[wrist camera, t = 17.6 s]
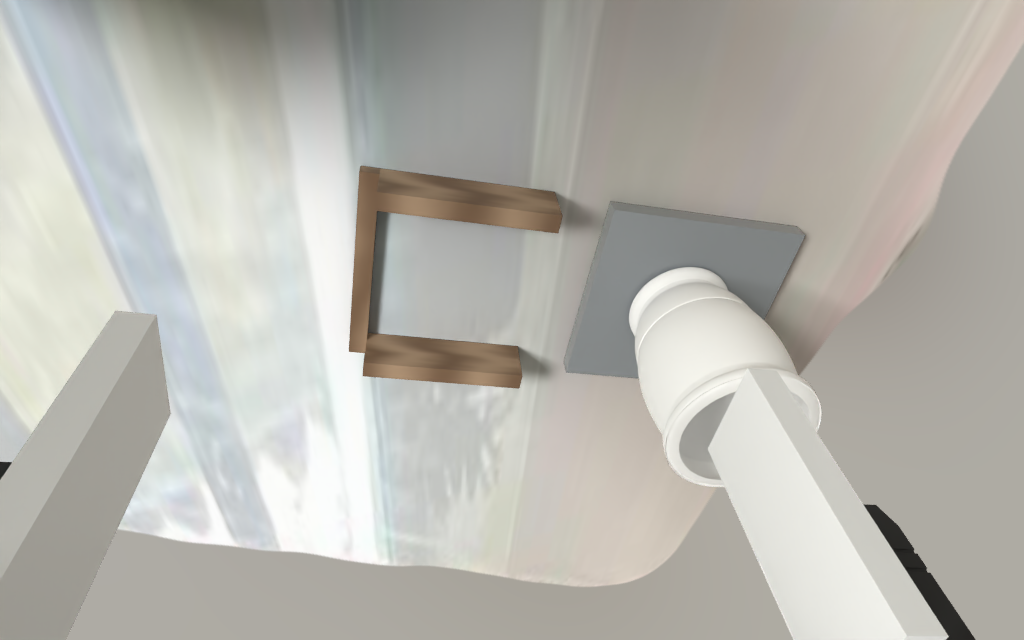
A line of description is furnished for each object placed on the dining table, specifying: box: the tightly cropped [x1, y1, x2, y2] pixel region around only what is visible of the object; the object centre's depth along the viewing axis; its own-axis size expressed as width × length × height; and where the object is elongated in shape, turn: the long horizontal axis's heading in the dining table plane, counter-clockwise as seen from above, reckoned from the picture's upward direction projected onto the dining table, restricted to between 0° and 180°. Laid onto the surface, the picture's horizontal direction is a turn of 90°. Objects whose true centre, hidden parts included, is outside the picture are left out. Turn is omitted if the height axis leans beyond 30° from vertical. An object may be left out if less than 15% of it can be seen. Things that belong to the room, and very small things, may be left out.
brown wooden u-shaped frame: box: [349, 166, 562, 388], centre depth 52 cm, size 14×16×4 cm
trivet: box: [564, 201, 805, 378], centre depth 57 cm, size 16×16×2 cm
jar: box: [629, 267, 822, 487], centre depth 50 cm, size 11×10×15 cm
